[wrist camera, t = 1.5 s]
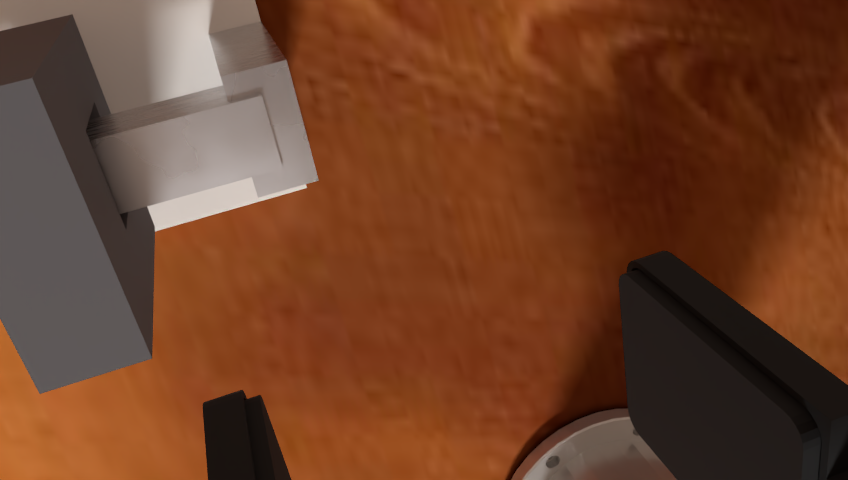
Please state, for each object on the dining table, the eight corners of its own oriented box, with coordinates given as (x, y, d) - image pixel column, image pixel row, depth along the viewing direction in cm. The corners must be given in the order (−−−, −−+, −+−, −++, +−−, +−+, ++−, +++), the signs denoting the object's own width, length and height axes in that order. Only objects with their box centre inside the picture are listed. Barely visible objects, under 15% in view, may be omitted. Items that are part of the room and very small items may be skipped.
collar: (72, 14, 26) (32, 78, 18) (154, 226, 29) (152, 358, 21) (-23, 36, 25) (-109, 112, 17) (73, 249, 29) (39, 394, 21)
